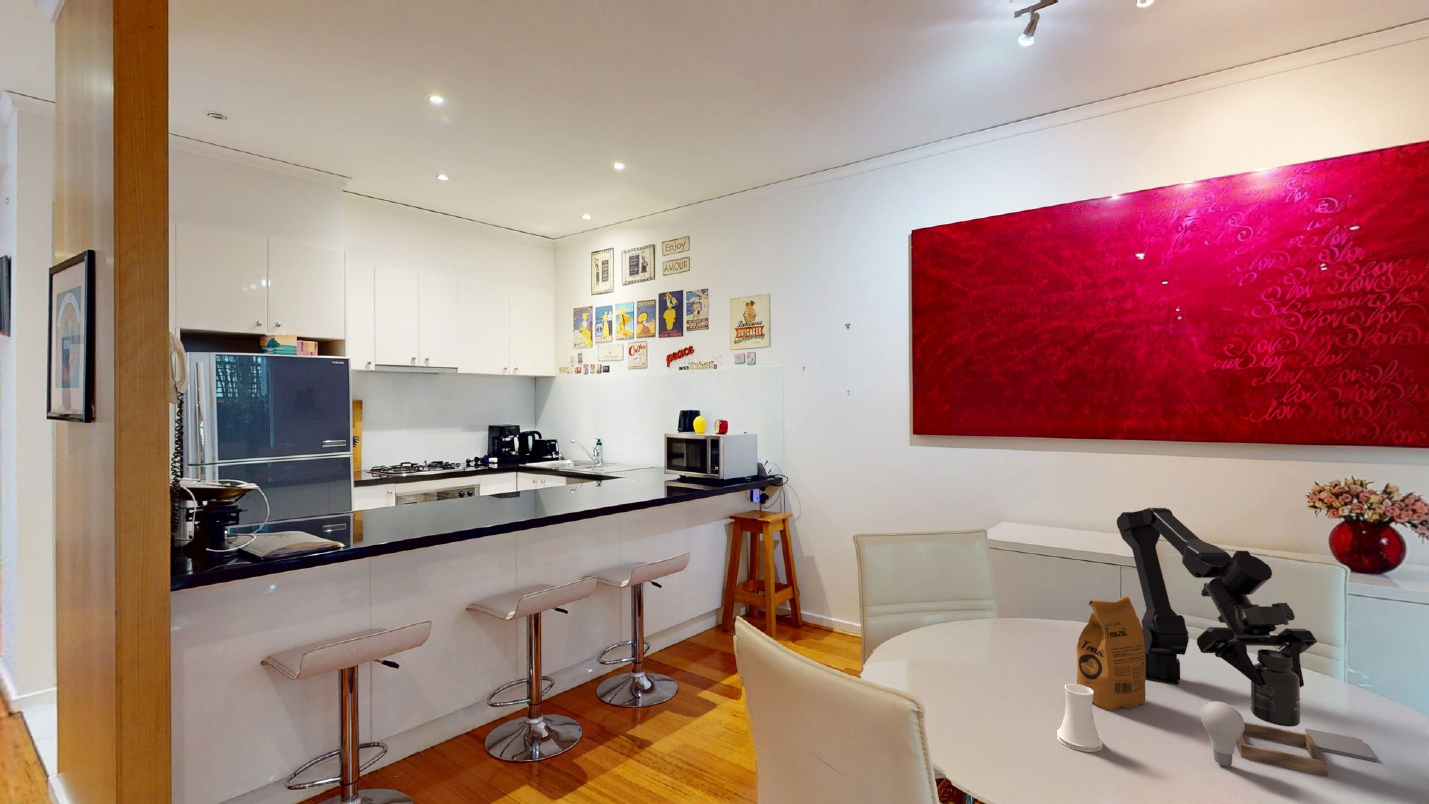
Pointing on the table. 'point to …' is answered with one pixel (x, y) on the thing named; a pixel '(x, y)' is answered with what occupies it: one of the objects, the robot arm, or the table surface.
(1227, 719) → the lightbulb
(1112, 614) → the coffee package
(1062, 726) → the vase
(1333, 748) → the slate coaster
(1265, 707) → the supplement bottle
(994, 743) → the table surface
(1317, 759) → the wooden square frame
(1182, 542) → the robot arm
